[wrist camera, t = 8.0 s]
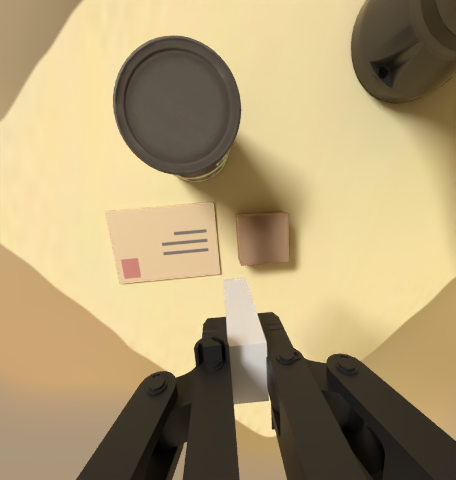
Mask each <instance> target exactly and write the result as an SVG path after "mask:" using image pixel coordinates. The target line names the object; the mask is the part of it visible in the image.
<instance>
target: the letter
mask: <svg viewBox="0 0 456 480" xmlns="http://www.w3.org/2000/svg"><path fill="white" fill-rule="evenodd" d="M105 213H106V218H107V223H108V228H109V233H110V238H111V243H112V248H113V253H114V258H115V263H116V268H117V273H118V278H119V283H120V284H124V283H135V282H145V281H155V280H165V279H176V278H186V277H196V276H206V275H217V274H220V264H219V254H218V243H217V232H216V222H215V211H214V202H207V203H195V204H183V205H172V206H160V207H148V208H136V209H125V210H113V211H105Z"/></svg>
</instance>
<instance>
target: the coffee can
mask: <svg viewBox="0 0 456 480" xmlns="http://www.w3.org/2000/svg"><path fill="white" fill-rule="evenodd" d="M113 108H114V115H115V119H116V123H117V126H118V129H119V131H120V134H121V135H122V137H123V139H124V141H125V142H126V144H127V145H128V147H129V148H130V149H131V151H132V152H133V153H134V154H135V155H136V156H137V157H138V158H139V159H141V160H142V161H143V162H144V163H146V164H147V165H149V166H150V167H152V168H154V169H156V170H158V171H161V172H164V173H168V174H172V175H175V176H177V177H179V178H181V179H183V180H186V181H190V182H201V181H205V180H208V179H210V178H212V177H214V176H215V175H217V174H218V173H219V172H220V171H221V170H222V168H223V167H224V165H225V163H226V161H227V159H228V156H229V152H230V148H231V146H232V144H233V142H234V140H235V137H236V135H237V132H238V129H239V124H240V118H241V102H240V94H239V90H238V87H237V84H236V81H235V79H234V77H233V74H232V72H231V71H230V69H229V68H228V66H227V65H226V63H225V62H224V61H223V60H222V58H221V57H220V56H219V55H218V54H217V53H216V52H215V51H213V50H212V49H211V48H209V47H208V46H206V45H205V44H203V43H201V42H199V41H197V40H194V39H191V38H188V37H183V36H163V37H158V38H155V39H152V40H150V41H148V42H146V43H144V44H143V45H141V46H140V47H138V48H137V49H136V50H134V51H133V52H132V53H131V55H130V56H129V57H128V58H127V59H126V61H125V62H124V64H123V65H122V67H121V69H120V71H119V74H118V76H117V79H116V82H115V87H114V94H113Z"/></svg>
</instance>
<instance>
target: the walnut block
mask: <svg viewBox="0 0 456 480" xmlns="http://www.w3.org/2000/svg"><path fill="white" fill-rule="evenodd" d="M236 228H237V244H238V258H239V261H240V264H241V266H243V265H255V264H267V263H278V262H289V226H288V213H285V212H282V211H276V212H263V213H250V214H236Z"/></svg>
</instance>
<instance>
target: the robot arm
mask: <svg viewBox="0 0 456 480" xmlns="http://www.w3.org/2000/svg"><path fill="white" fill-rule="evenodd" d="M351 53H352V61H353V65H354V69H355V72H356V74H357V76H358V78H359V80H360V82H361V83H362V85H363V86H364V87H365V88H366V90H367V91H368V92H370V93H371V94H372V95H373V96H375V97H377V98H378V99H381V100H383V101H386V102H391V103H404V102H409V101H412V100H415V99H417V98H420V97H422V96H424V95H426V94H428V93H430V92H432V91H434V90H436V89H437V88H439V87H441V86H442V85H443V84H445V83H446V82H447V81H448V80H449V79H451V78H452V77H453V76H454V75H455V74H456V0H366V1H365V3H364V5H363V6H362V8H361V10H360V12H359V14H358V16H357V19H356V22H355V25H354V29H353V34H352V41H351ZM224 295H225V310H226V317H219V318H208V319H207V320H206V322H205V323H204V324H203V333H202V339H200V340H199V341H198V342H197V343H196V344H195V347H194V352H195V360H196V367H195V368H194V369H193V370H192V371H190V372H189V373H187V374H185V375H182V376H180V377H177V378H175V376H174V375H173V374H172V373H170V372H167V371H163V372H156V373H154V374H151V375H150V376H148V377H147V378H145V379H144V380H143V382H142V383H141V384H140V385H139V387H138V388H137V390H136V391H135V393H134V394H133V396H132V397H131V399H130V400H129V402H128V403H127V405H126V406H125V408H124V409H123V410H122V412H121V414H120V415H119V416H118V418H117V420H116V421H115V422H114V424H113V426H112V427H111V428H110V430H109V431H108V433H107V434H106V436H105V438H104V439H103V441H102V442H101V443H100V445H99V446H98V448H97V449H96V451H95V452H94V454H93V455H92V457H91V458H90V460H89V461H88V463H87V464H86V466H85V467H84V469H83V470H82V472H81V473H80V475H79V476H78V478H77V479H76V480H172V478H173V475H174V472H175V469H176V466H177V464H178V461H179V458H180V455H181V452H182V449H183V445H184V443H185V442H187V449H186V457H185V465H184V474H183V480H239V468H238V456H237V442H236V431H235V430H236V429H235V416H234V404H241V403H251V402H261V401H269V396H270V400H271V415H272V430H273V429H275V431H276V435H277V439H278V443H279V447H280V452H281V456H282V460H283V464H284V468H285V472H286V477H287V480H456V441H455V440H453V438H451V437H450V436H449V435H448V434H447V433H445V432H444V431H443V430H442V429H441V428H439V427H438V426H437V425H436V424H435V423H433V422H432V421H431V420H430V419H429V418H427V417H426V416H425V415H424V414H423V413H421V412H420V411H419V410H418V409H417V408H416V407H414V406H413V405H412V404H411V403H410V402H408V401H407V400H406V399H405V398H404V397H402V396H401V395H400V394H399V393H398V392H396V391H395V390H394V389H393V388H392V387H390V386H389V385H388V384H387V383H386V382H385V381H383V380H382V379H381V378H380V377H378V376H377V375H376V374H375V373H374V372H373V371H371V370H370V369H369V368H368V367H367V366H365V365H364V364H363V363H362V362H361V361H359V360H357V359H356V358H354V357H352V356H349V355H345V354H333V355H331V356H330V357H328V359H327V363H320V362H314V361H310V360H307V359H305V358H304V357H303V355H302V354H301V353H300V352H299V351H298V350H296V349H295V348H293V346H292V344H291V342H290V340H289V338H288V336H287V333H286V331H285V330H284V327H283V325H282V323H281V321H280V319H279V317H278V316H277V315H275V314H274V313H273V312H268V313H257V312H256V308H255V305H254V302H253V299H252V296H251V293H250V290H249V287H248V284H247V281H246V278H240V279H228V280H224ZM268 392H269V394H268Z"/></svg>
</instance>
